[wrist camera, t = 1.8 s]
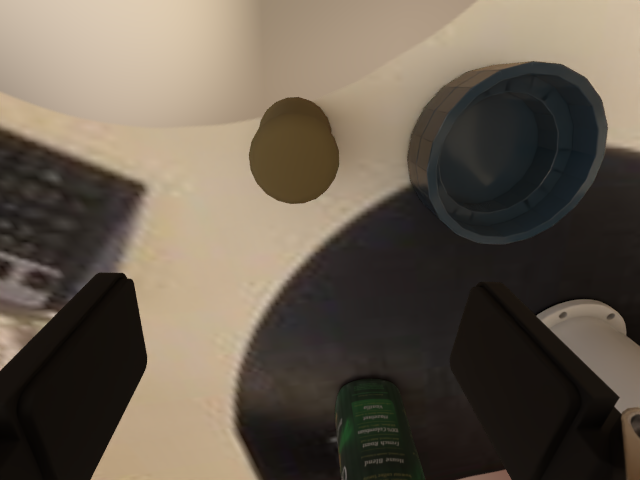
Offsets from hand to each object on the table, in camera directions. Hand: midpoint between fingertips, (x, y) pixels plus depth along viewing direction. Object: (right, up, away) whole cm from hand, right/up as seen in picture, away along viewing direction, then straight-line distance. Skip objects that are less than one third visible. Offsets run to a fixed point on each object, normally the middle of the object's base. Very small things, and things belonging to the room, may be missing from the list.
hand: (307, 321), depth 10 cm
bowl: (+14, +10, +20) cm, 27 cm away
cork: (-2, +11, +19) cm, 22 cm away
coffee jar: (+6, -18, +33) cm, 38 cm away
